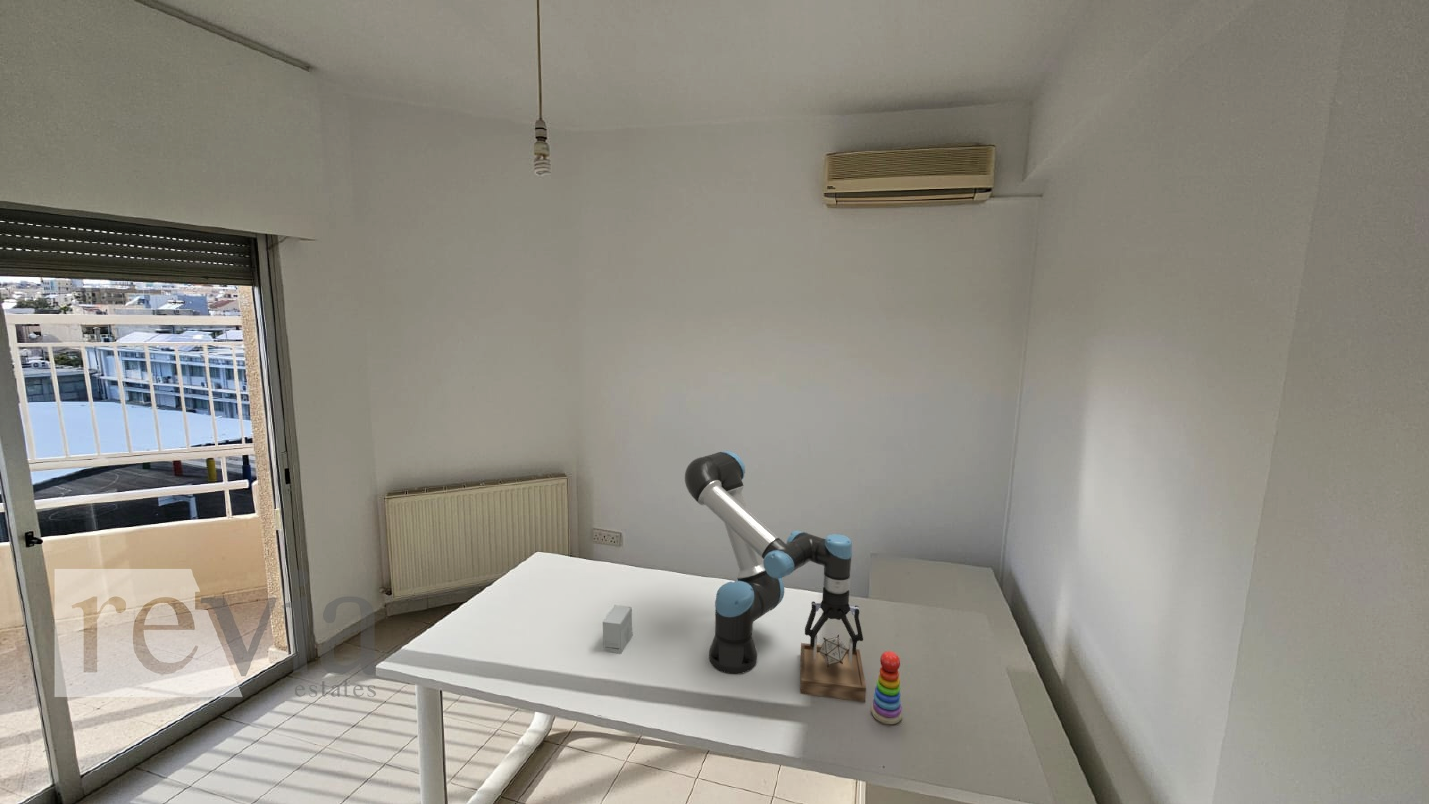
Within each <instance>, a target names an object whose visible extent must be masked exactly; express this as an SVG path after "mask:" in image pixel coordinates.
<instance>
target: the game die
mask: <svg viewBox="0 0 1429 804" xmlns="http://www.w3.org/2000/svg"><path fill="white" fill-rule="evenodd" d="M823 640H824V641H823V643H822V644H821V645H822V647H821V649H820V651H818V650H817V652H820V654H821V655H822V656H823V658H824V659H825V661H826V662H827V664H828V665H827V668H828V667H829V665H832V664H836V663H841V664H843V662H842V660H843V658H844V657H845V655H846V653H847V651H849V650H847V649H846V648H847V647H846V646H845V645H844V643H843V641H841V639H840V634H837V637H836V636H835V637H832V638H826V637H823Z"/></svg>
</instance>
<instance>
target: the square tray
mask: <svg viewBox="0 0 1429 804" xmlns="http://www.w3.org/2000/svg"><path fill="white" fill-rule="evenodd" d="M822 645H823V644H817V650H818V651H820V649H821V647H822ZM845 648H846V649H847V650H849V647H845ZM861 656H862V655H861V651H860V649H858V648H856V651H855V652H853V651H852V663H849V660H848V651H847V653H846V655H845V657H844V658H843V660H842V662H843V664H841V663H836V664H832V665H829V667H828V668H827V665H828V664H827V662H826V661H825V659H824V658H823V656H822V655H821V654H820V652H817V655H816V659H814V647H811V646H810V643H805V642H804V643H803V642H801V644H800V677H799V678H800V680H799V681H800V682H799V683H800V685H799V686H800V687H799V688H800V691H799V692H800V694H801V695H802V694H803V695H808V696H809V695H810V696H819V697H825V698H826V697H827V698H834V699H842V700H850V701H858V702H864V703H865V702H866V694H867V685H866V681H865V675H864V674H865V673H864V668H863V667H864V666H863V663H862V657H861Z"/></svg>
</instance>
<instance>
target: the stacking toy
mask: <svg viewBox="0 0 1429 804" xmlns="http://www.w3.org/2000/svg"><path fill="white" fill-rule="evenodd" d="M879 661H880V666H881V667H880V668H879V674H878V678H877V681H876V685H875V688H874V693H873V700H872V704H871V706H870V710H871V714H872V716H873V717H874V719H876V720H877V721H878V722H880V723H882V724H885V725H894V724H895V725H896V724H898V723H899V722H900V721H901V720H902V716H903V714H902V709H903V706H902V703H901V685H900V684H901V679H900V671H899V669H900V666H901V660H900V657H899V656H898V654H896V653H895V652H894V651H890V650H888V651H884V652H883V653H882V654H881V656H880V660H879Z"/></svg>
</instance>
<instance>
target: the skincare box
mask: <svg viewBox="0 0 1429 804" xmlns="http://www.w3.org/2000/svg"><path fill="white" fill-rule="evenodd" d="M632 611H633V607H632V606H627V605H618V604H615V605H614V606H613V607H612V608H611V610H610V611H609V612H608V614H607V615H606V617H605V618H604V619H602V639H603V642H602V644H603V652H607V653H615V654H620V655H621V654H622V653H623V652H624V650H625V649H626V647H627V646H628V644H629V642H630V640H631V639H632V637H633V633H634V632H633V612H632Z"/></svg>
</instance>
